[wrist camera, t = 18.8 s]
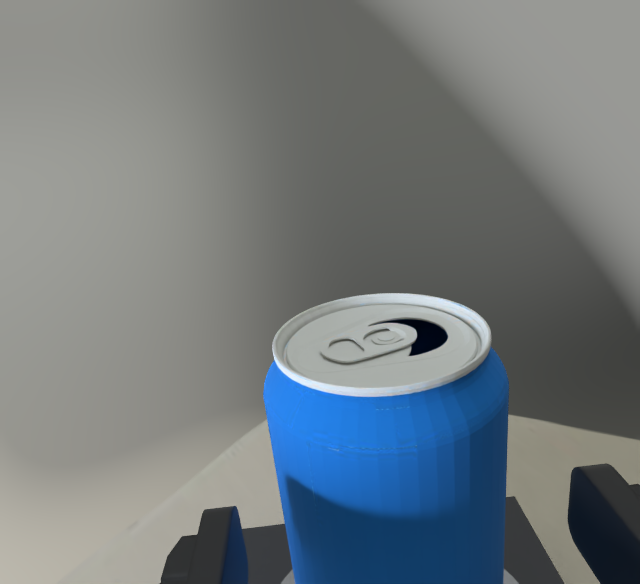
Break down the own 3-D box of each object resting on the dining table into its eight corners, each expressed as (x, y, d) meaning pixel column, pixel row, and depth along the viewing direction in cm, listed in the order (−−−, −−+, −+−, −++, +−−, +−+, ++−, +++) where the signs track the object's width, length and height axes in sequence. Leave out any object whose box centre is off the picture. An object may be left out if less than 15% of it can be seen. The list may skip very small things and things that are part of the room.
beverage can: (546, 695, 15) (574, 347, 11) (358, 810, 13) (305, 436, 9) (428, 541, 21) (417, 274, 17) (284, 605, 19) (232, 319, 15)
